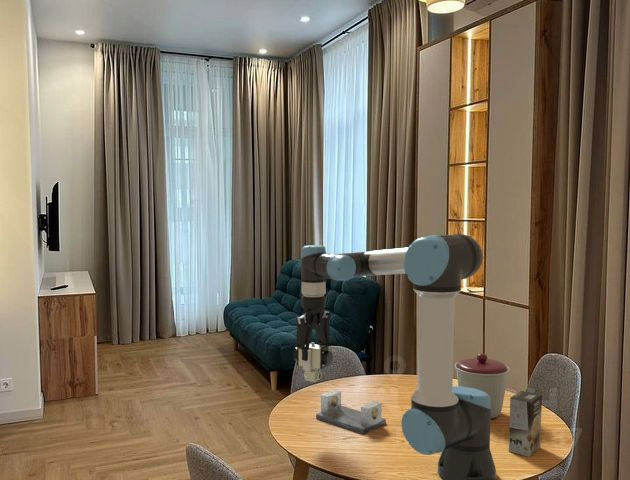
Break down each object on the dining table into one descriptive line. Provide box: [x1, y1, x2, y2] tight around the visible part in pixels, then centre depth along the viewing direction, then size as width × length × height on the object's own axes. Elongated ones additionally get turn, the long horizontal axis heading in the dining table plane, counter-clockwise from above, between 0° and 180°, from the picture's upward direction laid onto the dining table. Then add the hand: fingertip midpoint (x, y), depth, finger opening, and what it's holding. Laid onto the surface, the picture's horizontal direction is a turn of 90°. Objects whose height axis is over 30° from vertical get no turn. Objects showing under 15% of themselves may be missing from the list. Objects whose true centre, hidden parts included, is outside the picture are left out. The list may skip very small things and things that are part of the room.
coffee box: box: [508, 390, 543, 457], centre depth 176 cm, size 9×6×16 cm
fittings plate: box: [315, 389, 387, 435], centre depth 198 cm, size 20×12×8 cm, turn 48°
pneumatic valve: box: [292, 342, 333, 383], centre depth 188 cm, size 6×12×12 cm, turn 62°
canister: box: [454, 352, 511, 420], centre depth 204 cm, size 18×18×21 cm
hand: (313, 368), depth 188 cm, fingers closed on pneumatic valve, 6 cm apart
